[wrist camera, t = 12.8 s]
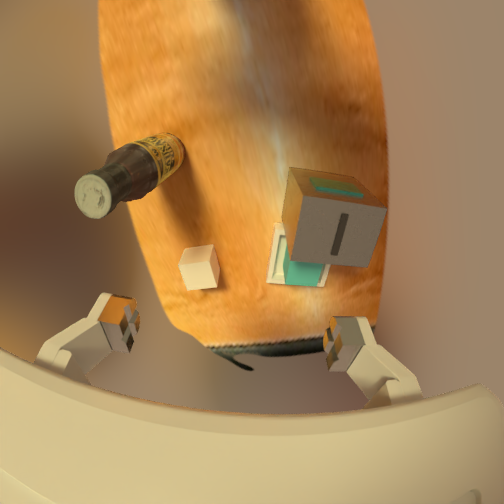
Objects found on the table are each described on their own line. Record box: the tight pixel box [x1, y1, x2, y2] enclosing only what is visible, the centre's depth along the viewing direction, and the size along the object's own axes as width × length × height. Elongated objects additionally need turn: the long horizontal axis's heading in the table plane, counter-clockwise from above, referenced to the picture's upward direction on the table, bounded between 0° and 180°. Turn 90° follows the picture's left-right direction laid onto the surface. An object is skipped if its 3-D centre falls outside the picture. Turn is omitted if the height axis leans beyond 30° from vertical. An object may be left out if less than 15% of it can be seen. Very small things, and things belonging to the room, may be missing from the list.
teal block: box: [283, 245, 323, 286], centre depth 42 cm, size 5×5×5 cm
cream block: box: [178, 244, 220, 290], centre depth 44 cm, size 5×5×5 cm
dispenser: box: [282, 167, 387, 267], centre depth 34 cm, size 8×10×12 cm
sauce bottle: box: [75, 133, 185, 219], centre depth 28 cm, size 7×6×20 cm
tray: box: [266, 222, 331, 287], centre depth 44 cm, size 10×10×2 cm
